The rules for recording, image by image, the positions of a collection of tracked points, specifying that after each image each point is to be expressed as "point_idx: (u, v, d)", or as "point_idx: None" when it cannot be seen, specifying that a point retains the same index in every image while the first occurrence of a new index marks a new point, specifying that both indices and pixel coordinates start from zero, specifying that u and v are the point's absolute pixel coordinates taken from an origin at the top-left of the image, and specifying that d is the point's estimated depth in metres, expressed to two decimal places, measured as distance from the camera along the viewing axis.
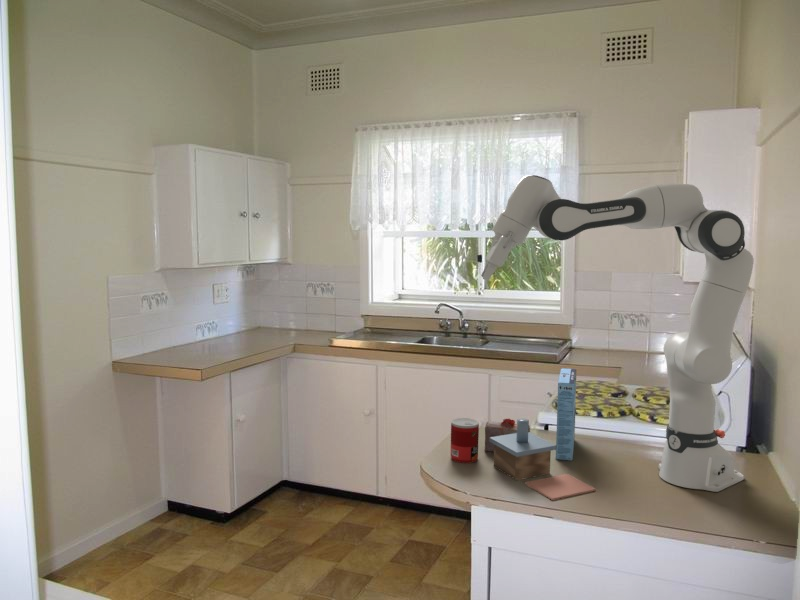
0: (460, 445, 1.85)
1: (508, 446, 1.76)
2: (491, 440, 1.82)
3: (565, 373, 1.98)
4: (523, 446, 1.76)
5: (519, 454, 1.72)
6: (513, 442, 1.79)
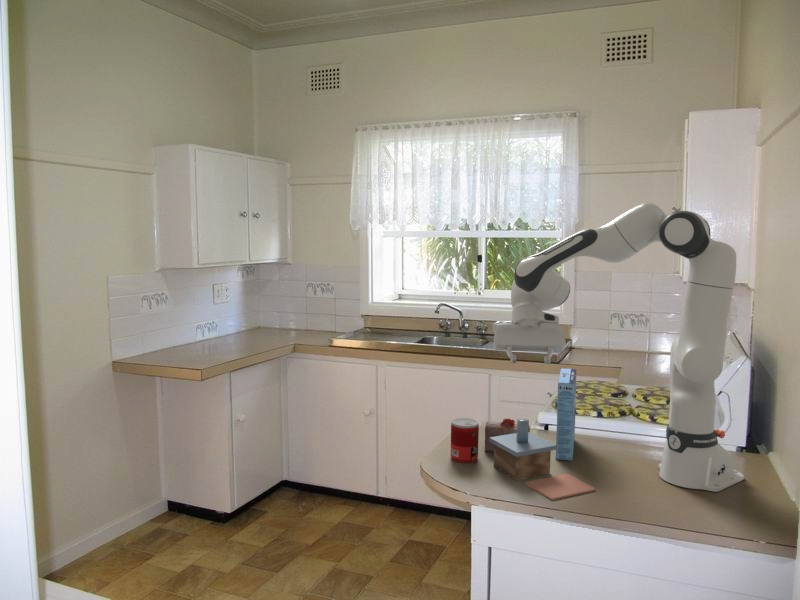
0: (460, 445, 1.85)
1: (508, 446, 1.76)
2: (491, 440, 1.82)
3: (565, 373, 1.98)
4: (523, 446, 1.76)
5: (519, 454, 1.72)
6: (513, 442, 1.79)
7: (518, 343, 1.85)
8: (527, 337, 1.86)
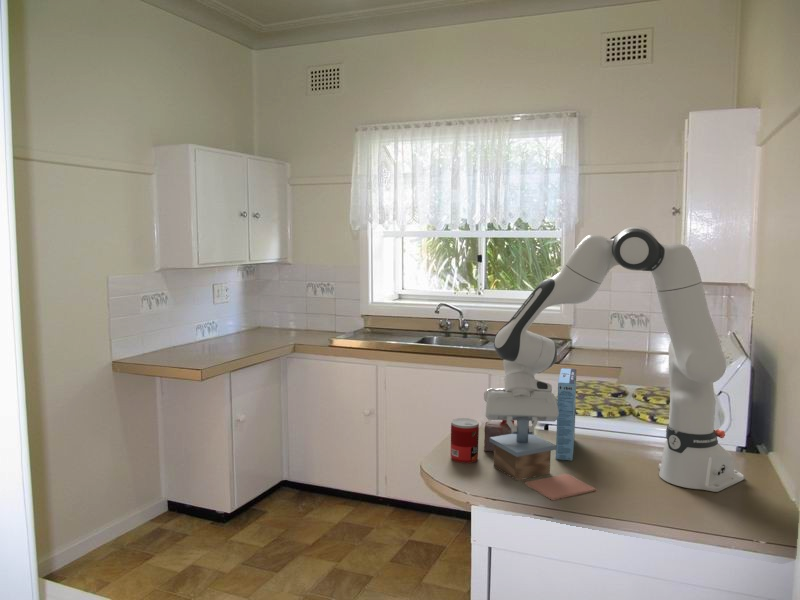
0: (460, 445, 1.85)
1: (508, 446, 1.76)
2: (491, 440, 1.82)
3: (565, 373, 1.98)
4: (523, 446, 1.76)
5: (519, 454, 1.72)
6: (513, 442, 1.79)
7: (510, 413, 1.81)
8: (519, 407, 1.82)
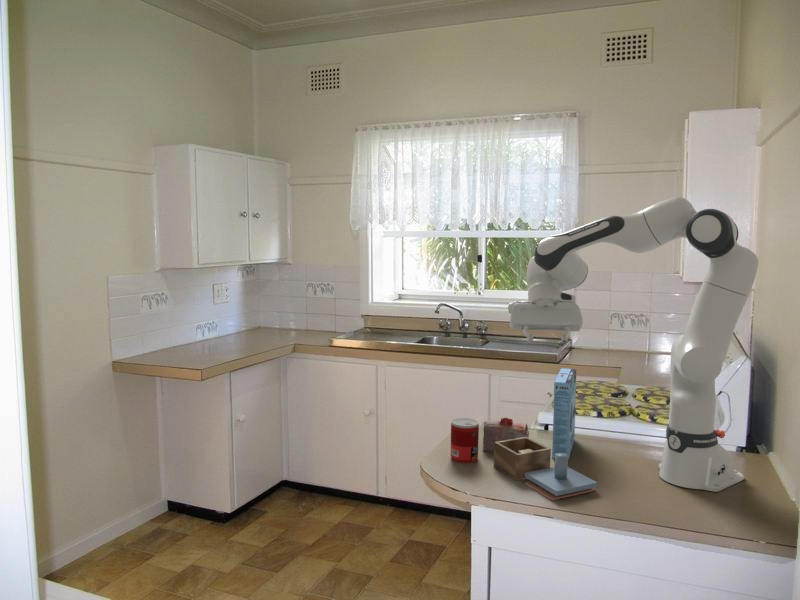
0: (460, 445, 1.85)
1: (547, 483, 1.65)
2: (527, 476, 1.71)
3: (564, 373, 1.98)
4: (562, 484, 1.65)
5: (559, 493, 1.61)
6: (551, 479, 1.68)
7: (534, 322, 1.84)
8: (543, 316, 1.85)
